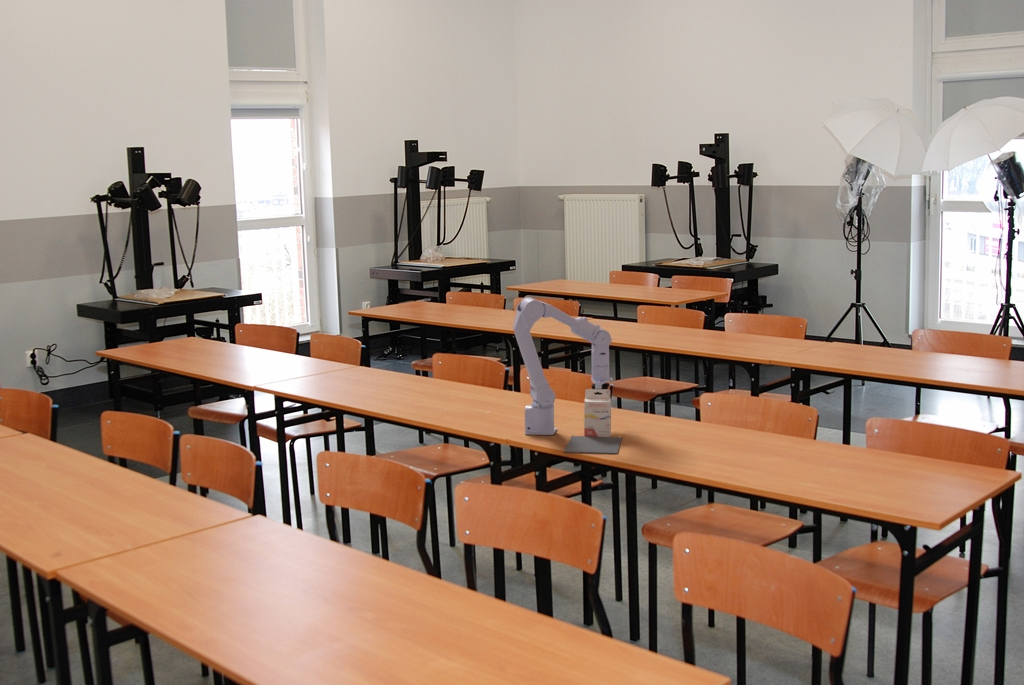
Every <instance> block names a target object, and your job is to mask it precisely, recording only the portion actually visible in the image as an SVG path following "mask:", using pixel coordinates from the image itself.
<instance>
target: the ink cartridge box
mask: <svg viewBox="0 0 1024 685" xmlns="http://www.w3.org/2000/svg"><path fill="white" fill-rule="evenodd" d="M584 392H585V393H584V394H585V396H584V403H583V404H584V407H583V410H584V411H583V412H584V416H583V417H584V418H583V419H584V420H583V421H584V422H583V424H584V425H583V426H584V429H583V432H584V434H583V436H596V437H612V436H611V435H612V398H611V389H609V388H608V389H592V388H590V389H588V388H586V389H585V391H584ZM597 392H599V393H602V395H595V394H594V393H597Z"/></svg>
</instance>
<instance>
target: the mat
mask: <svg viewBox="0 0 1024 685" xmlns="http://www.w3.org/2000/svg"><path fill="white" fill-rule="evenodd" d="M622 440H623V437H621V436H611V437H596V436H584V435H571V436H570V438H569V441H568V442H567V445H566V446H565V449H564V450H563V454H564V453H566V454H567V453H569V454H595V455H597V454H600V455H618V454H619V450H620V447H621V442H622Z"/></svg>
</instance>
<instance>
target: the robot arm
mask: <svg viewBox="0 0 1024 685" xmlns="http://www.w3.org/2000/svg"><path fill="white" fill-rule="evenodd" d="M515 310H516V311H515V318H514V321H513V325H512V329H513V332H514V336H515V339H516V342H517V346H518V347H519V352H520V354H521V357H522V359H523V363H524V366H525V370H526V373H527V375H528V379H529V385H530V388H529V389H530V390H529V394H530V397H531V399H532V402H531V404H530V405H528V404H527V405H525V408H524V435H536V436H537V435H539V436H541V435H543V436H554V435H555V433H556V432H557V430H558V427H555V401H556V393H555V391H554V390H553V389H552V388H551V387H550V384H549V381H548V380H547V378H546V377H545V373H544V369H543V367H542V364H541V361H540V359H539V355H538V352H537V348H536V346H535V342H534V340H533V337H532V333H531V329H532V328H533V326H534V325H535V324H536V322H538V321H539V320H540V319H541V318H544V319H546V318H547V319H548V318H551V319H552V318H553V319H554V320H556V321H558V322H560V323H562V324H564V325H566V326H568V327H570V331H571V333H572V334H574V335H576V336H578V337H579V338H581V339H583V340H585V341H587V342H590V344H591V378H590V381H591V382H592V384H591V386H590V387H591V389H609V388H610V383H609V382H613V381H614V377H610V345H611V343H612V340H613V338H612V337H611V334H610V333H609V331H607V330H606V329H604V328H602V327H601V326H600V325H599V324H594V323H593V322H591V321H589V320H588V318H587V317H586V316H583V317H582V316H578V317H573V316H571V315H569V314H567V313H566V312H564V311H562V310H560V309H559V308H558V307H555V305H552V304H550V303H547V302H545V301H542V300H538V299H535V298H534V297H531V296H526V297H524V298H522V299H521V300H520V302H519V304H518V305H517V306H516V309H515ZM593 394H595V395H602V393H599V392H597V393H593Z"/></svg>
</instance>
